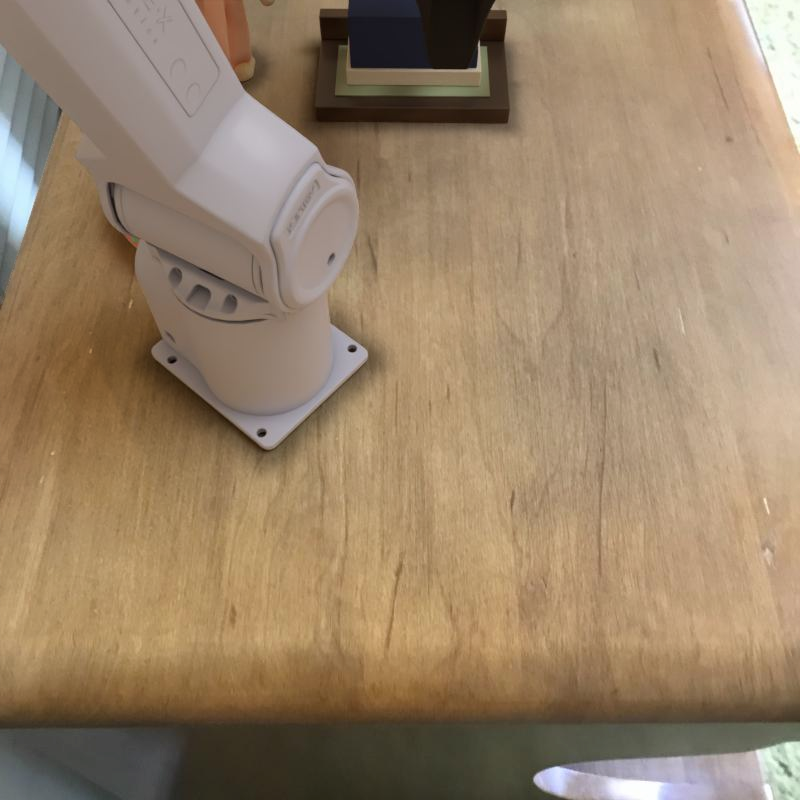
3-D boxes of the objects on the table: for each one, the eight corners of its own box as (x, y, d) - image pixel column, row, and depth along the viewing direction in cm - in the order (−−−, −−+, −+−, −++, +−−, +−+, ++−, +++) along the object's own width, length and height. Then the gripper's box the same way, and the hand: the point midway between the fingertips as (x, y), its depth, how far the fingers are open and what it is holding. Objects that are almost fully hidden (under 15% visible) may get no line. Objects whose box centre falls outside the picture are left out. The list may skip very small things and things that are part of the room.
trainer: (346, 85, 56) (342, 18, 52) (349, 47, 58) (345, -20, 54) (480, 86, 56) (486, 19, 52) (477, 48, 58) (484, -19, 54)
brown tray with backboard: (316, 121, 56) (311, 84, 54) (323, 45, 60) (319, 7, 58) (508, 123, 56) (513, 86, 54) (502, 47, 60) (506, 9, 58)
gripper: (576, -184, 31) (528, 108, 43) (544, -338, 39) (510, -53, 51) (390, -185, 31) (392, 107, 43) (394, -338, 39) (395, -54, 51)
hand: (448, 21), depth 47 cm, fingers open, 7 cm apart
